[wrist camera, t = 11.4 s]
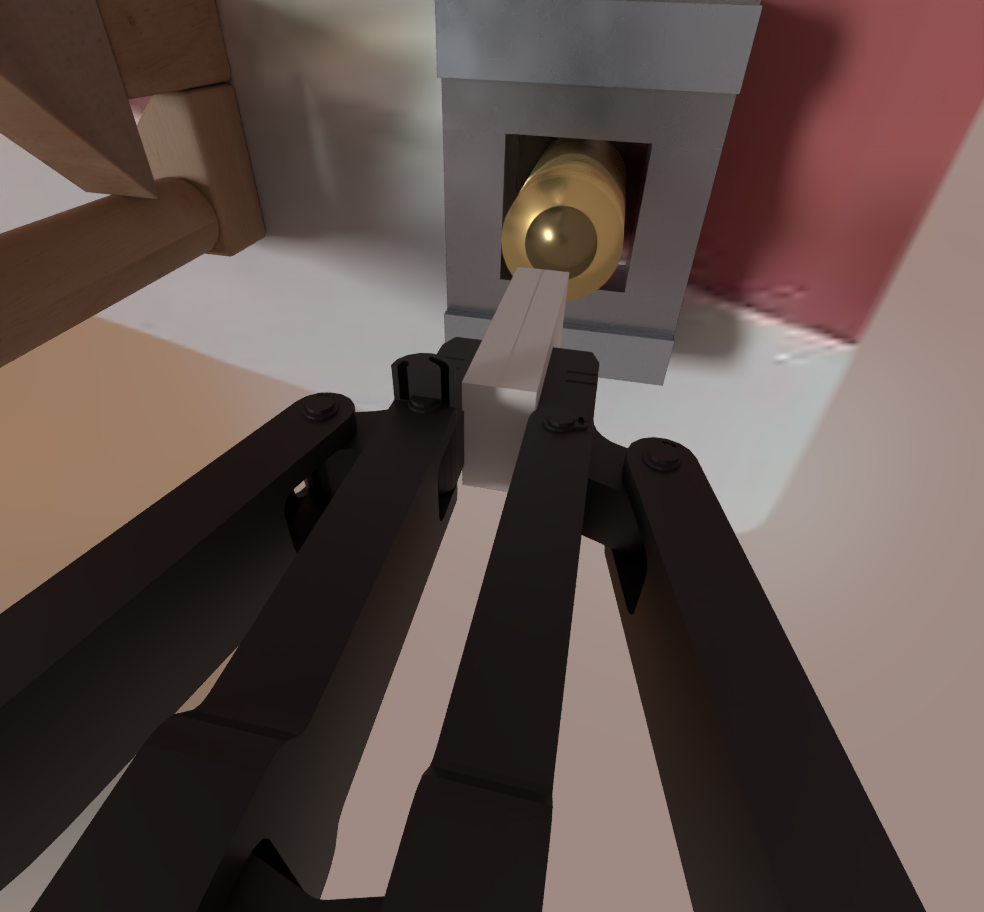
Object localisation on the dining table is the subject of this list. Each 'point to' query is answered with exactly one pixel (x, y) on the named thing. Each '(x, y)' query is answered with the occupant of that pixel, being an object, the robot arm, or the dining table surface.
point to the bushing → (570, 215)
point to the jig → (588, 115)
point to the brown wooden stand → (118, 154)
